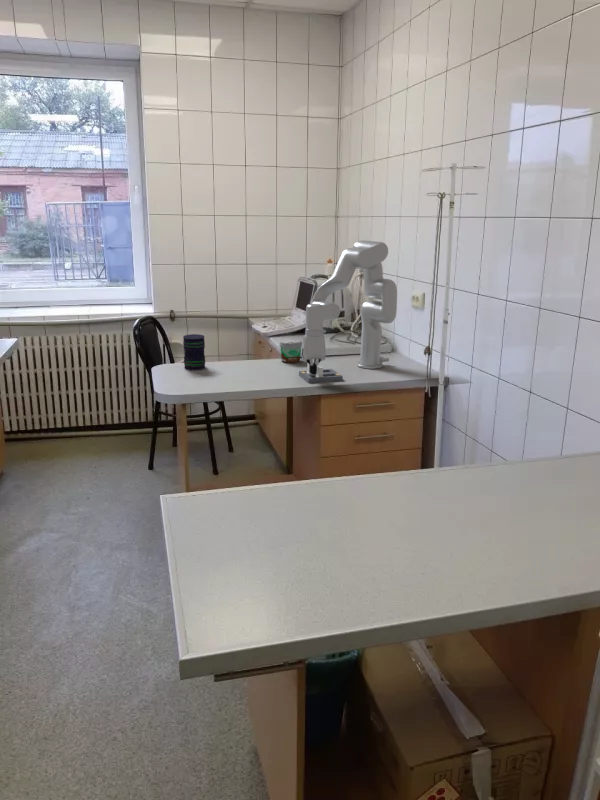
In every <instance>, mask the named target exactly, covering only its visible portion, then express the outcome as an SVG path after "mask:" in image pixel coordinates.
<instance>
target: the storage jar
mask: <svg viewBox="0 0 600 800" xmlns="http://www.w3.org/2000/svg"><path fill="white" fill-rule="evenodd" d="M182 341H183V343H182V345H183V352H184V356H183V364H184V369H185V370H187V371H202V370H204V369H205V368H206V356H205V347H206V346H205V335H202V334H198V333H197V334H185V335H183V339H182Z"/></svg>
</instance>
